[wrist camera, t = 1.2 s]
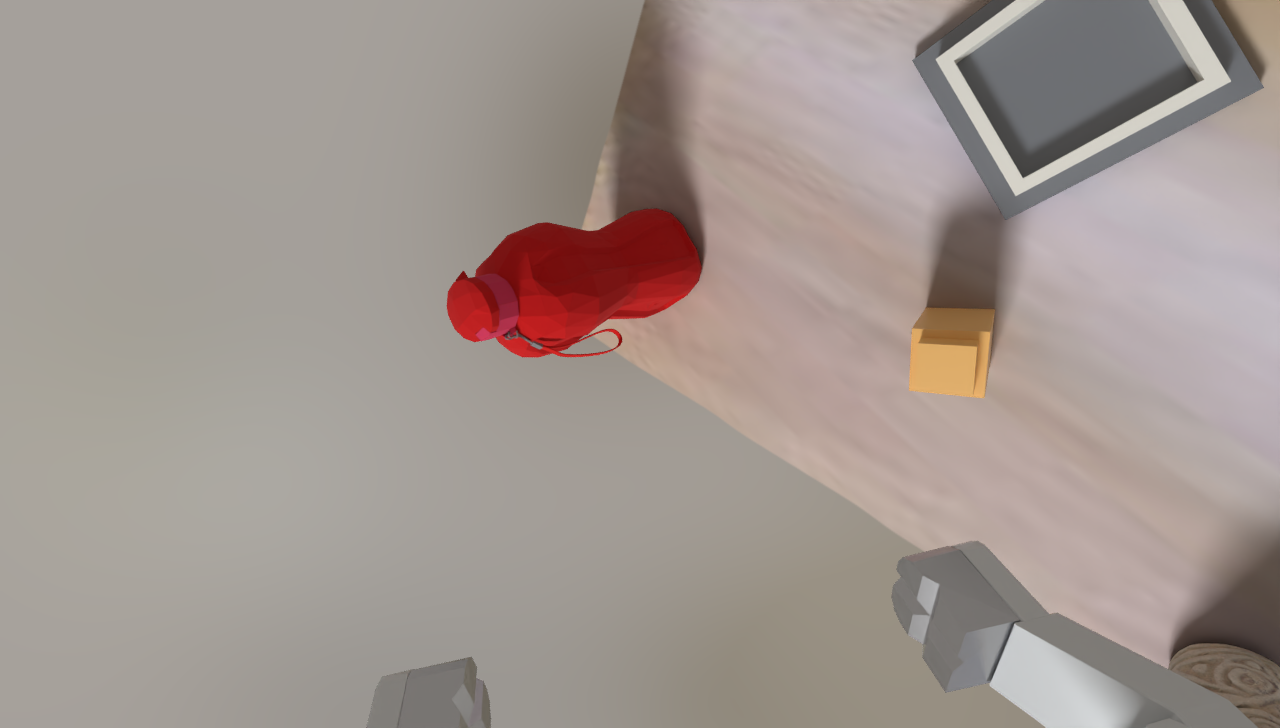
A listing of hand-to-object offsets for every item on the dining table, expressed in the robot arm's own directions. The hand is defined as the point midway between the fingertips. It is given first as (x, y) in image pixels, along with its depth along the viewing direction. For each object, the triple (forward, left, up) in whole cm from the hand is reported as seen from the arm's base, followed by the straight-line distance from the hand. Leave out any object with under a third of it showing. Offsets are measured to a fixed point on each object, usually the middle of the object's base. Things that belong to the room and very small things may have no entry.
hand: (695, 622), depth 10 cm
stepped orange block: (+1, +5, -41) cm, 41 cm away
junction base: (-12, -8, -41) cm, 43 cm away
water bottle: (+21, -13, -41) cm, 48 cm away
